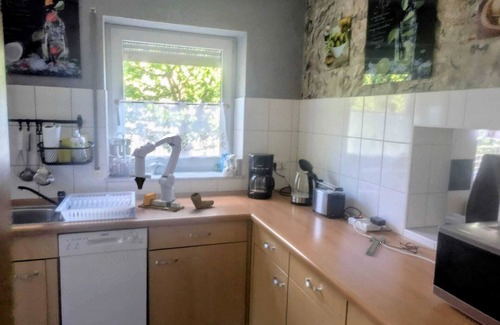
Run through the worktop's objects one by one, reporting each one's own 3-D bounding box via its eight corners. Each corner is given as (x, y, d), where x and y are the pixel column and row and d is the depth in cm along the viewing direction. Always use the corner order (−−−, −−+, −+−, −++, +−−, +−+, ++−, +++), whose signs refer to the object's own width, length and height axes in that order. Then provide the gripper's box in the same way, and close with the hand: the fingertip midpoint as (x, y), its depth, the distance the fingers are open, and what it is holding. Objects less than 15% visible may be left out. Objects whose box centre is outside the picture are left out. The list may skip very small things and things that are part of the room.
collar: (144, 204, 209) (144, 195, 209) (151, 202, 217) (151, 192, 216) (148, 205, 208) (148, 195, 208) (155, 202, 216) (155, 193, 215)
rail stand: (138, 206, 209) (138, 200, 209) (147, 203, 219) (147, 197, 218) (175, 211, 201) (175, 204, 201) (184, 207, 211) (184, 201, 210)
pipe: (216, 207, 215) (216, 191, 214) (193, 211, 204) (194, 194, 203) (210, 205, 220) (210, 189, 218) (188, 209, 208) (188, 192, 207)
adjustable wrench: (371, 257, 142) (372, 253, 142) (356, 254, 145) (356, 250, 145) (386, 241, 162) (387, 237, 162) (372, 238, 166) (372, 234, 166)
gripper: (125, 167, 211) (126, 189, 212) (146, 169, 206) (146, 191, 208) (133, 166, 217) (133, 187, 219) (153, 167, 213) (153, 189, 214)
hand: (140, 189), depth 214 cm, fingers closed
